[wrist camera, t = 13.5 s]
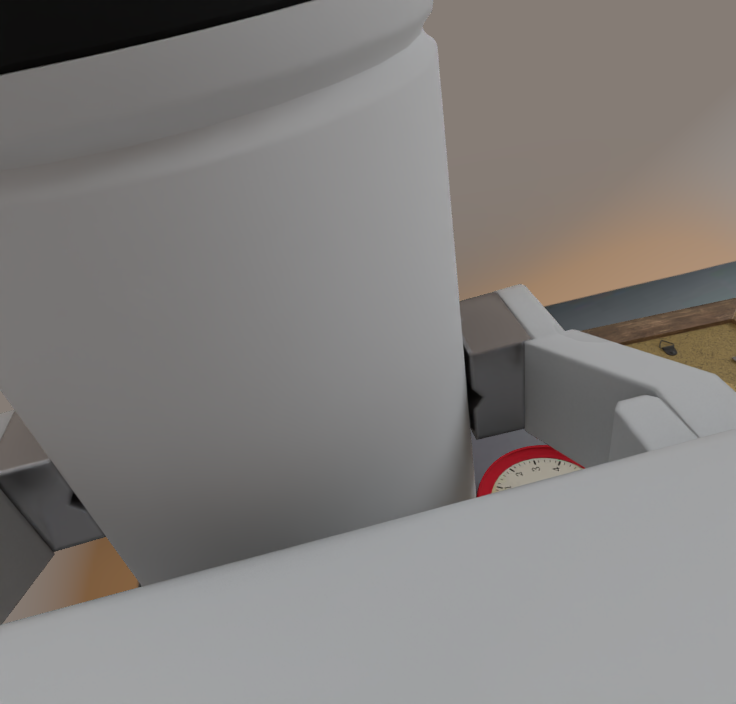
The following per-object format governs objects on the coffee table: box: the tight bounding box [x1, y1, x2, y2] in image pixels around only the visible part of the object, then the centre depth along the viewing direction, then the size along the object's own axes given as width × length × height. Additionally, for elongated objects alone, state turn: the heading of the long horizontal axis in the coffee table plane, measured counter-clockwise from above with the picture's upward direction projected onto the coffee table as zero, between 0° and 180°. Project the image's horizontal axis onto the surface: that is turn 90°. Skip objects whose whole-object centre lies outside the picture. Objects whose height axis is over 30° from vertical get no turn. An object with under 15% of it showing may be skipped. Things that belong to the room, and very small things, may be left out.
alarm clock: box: [476, 445, 585, 498], centre depth 39 cm, size 10×6×15 cm
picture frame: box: [580, 298, 736, 392], centre depth 45 cm, size 19×2×24 cm
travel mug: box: [0, 0, 476, 587], centre depth 10 cm, size 6×7×20 cm
